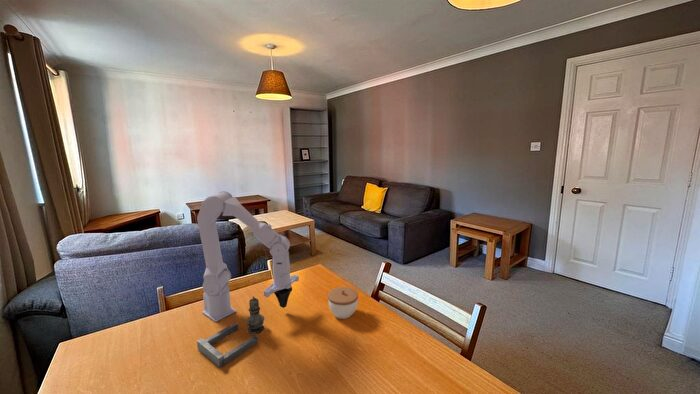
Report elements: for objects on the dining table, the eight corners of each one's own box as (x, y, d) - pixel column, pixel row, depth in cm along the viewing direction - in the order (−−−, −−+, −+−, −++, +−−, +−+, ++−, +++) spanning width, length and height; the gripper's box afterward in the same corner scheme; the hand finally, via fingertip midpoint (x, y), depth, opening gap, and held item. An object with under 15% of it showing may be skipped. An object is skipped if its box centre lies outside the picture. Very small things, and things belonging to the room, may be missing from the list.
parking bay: (197, 349, 85) (196, 340, 85) (235, 327, 95) (235, 319, 95) (219, 368, 78) (218, 358, 78) (258, 342, 88) (257, 334, 88)
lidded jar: (358, 306, 108) (359, 283, 106) (356, 324, 97) (356, 299, 95) (330, 304, 109) (330, 281, 107) (325, 322, 98) (325, 297, 97)
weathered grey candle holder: (259, 336, 91) (257, 302, 89) (242, 333, 92) (240, 300, 90) (268, 324, 97) (266, 292, 94) (252, 322, 98) (250, 290, 95)
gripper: (272, 282, 93) (274, 320, 95) (304, 267, 104) (305, 300, 107) (258, 276, 97) (261, 312, 99) (291, 262, 108) (292, 294, 111)
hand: (283, 306), depth 103 cm, fingers closed
